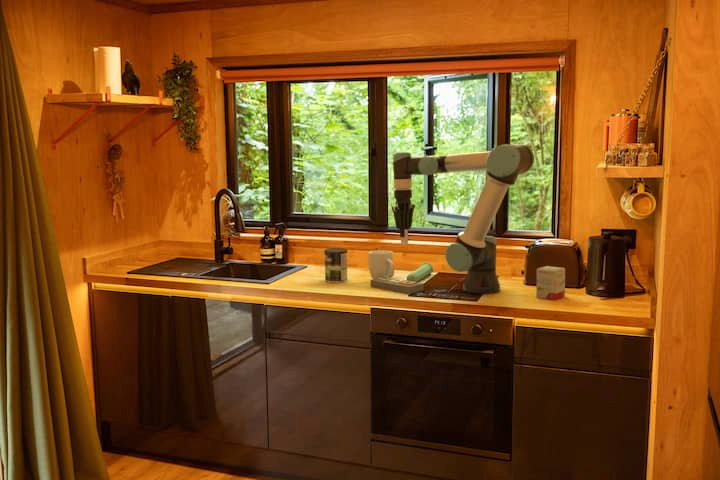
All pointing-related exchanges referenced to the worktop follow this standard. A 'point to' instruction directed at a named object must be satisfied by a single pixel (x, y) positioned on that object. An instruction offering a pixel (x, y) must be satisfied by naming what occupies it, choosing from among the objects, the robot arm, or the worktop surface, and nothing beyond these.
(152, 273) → the worktop surface
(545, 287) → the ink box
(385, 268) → the mug
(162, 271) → the worktop surface
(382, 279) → the tile sage
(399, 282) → the tile cream
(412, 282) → the tile terracotta
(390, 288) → the socket board
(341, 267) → the coffee can
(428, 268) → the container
